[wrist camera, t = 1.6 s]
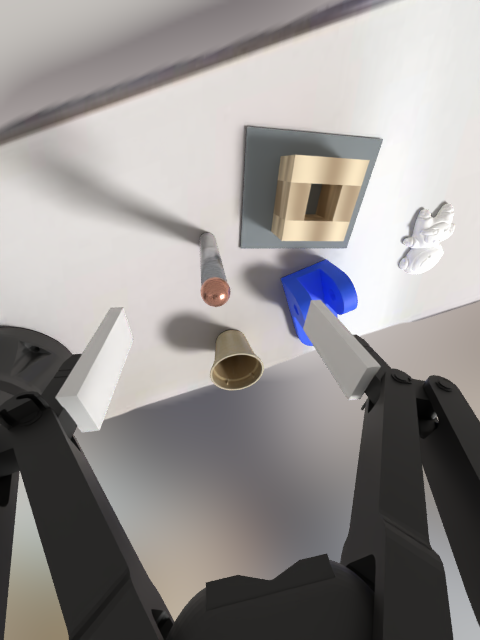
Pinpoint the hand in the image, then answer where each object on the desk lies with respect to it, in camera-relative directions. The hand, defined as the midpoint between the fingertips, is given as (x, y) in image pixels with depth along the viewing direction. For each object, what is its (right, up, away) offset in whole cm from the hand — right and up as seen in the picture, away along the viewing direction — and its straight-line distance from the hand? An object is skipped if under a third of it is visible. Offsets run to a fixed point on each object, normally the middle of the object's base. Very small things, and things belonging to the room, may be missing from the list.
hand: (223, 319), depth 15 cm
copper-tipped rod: (-4, +12, +16) cm, 20 cm away
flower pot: (-1, -4, +29) cm, 29 cm away
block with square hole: (+11, +17, +15) cm, 25 cm away
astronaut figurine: (+34, +14, +23) cm, 43 cm away
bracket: (+15, +3, +27) cm, 31 cm away
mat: (+11, +17, +15) cm, 25 cm away
